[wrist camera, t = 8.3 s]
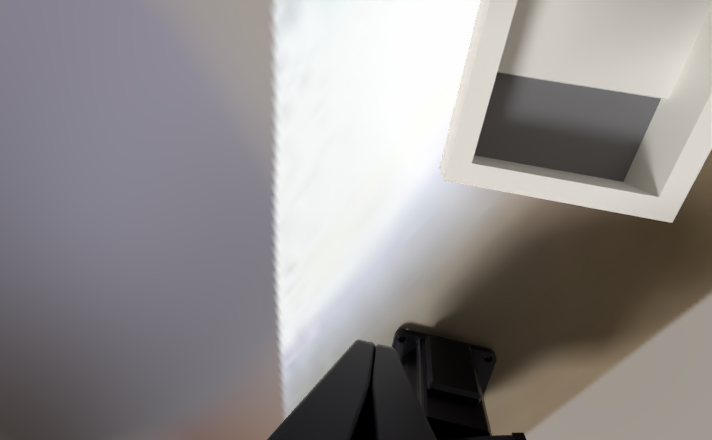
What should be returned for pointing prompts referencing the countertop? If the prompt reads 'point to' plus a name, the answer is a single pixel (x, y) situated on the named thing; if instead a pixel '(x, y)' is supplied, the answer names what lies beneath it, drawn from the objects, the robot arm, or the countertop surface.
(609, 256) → the countertop surface
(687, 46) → the two pit track
